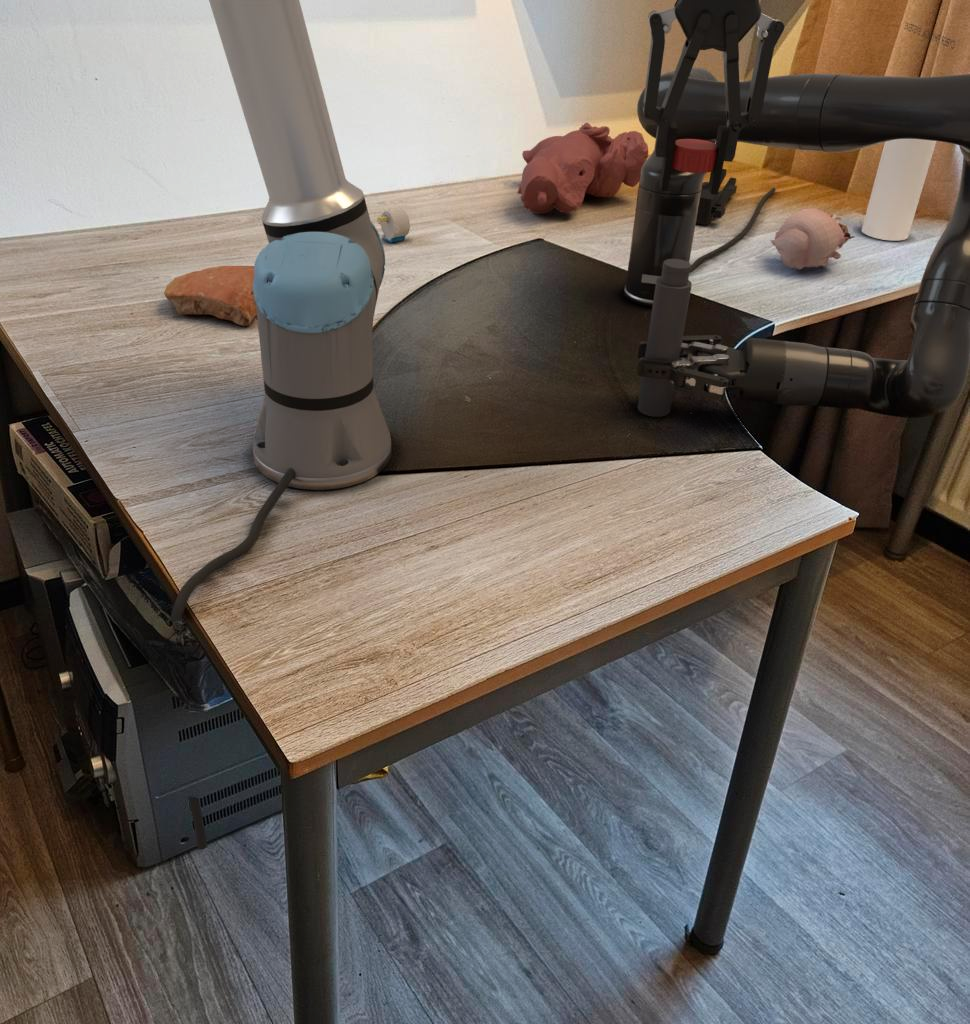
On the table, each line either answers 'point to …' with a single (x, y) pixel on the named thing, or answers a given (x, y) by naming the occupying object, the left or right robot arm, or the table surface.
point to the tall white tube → (898, 184)
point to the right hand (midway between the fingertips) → (639, 358)
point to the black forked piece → (714, 200)
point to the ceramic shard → (216, 293)
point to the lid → (694, 156)
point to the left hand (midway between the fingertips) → (688, 188)
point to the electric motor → (394, 225)
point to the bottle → (665, 333)
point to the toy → (810, 238)
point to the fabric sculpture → (580, 168)
